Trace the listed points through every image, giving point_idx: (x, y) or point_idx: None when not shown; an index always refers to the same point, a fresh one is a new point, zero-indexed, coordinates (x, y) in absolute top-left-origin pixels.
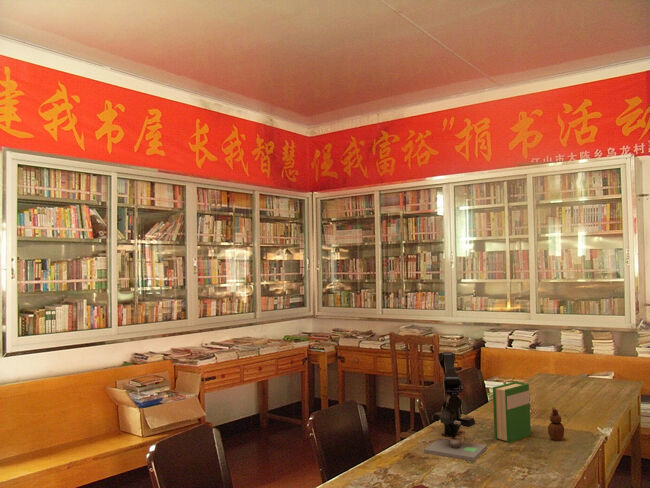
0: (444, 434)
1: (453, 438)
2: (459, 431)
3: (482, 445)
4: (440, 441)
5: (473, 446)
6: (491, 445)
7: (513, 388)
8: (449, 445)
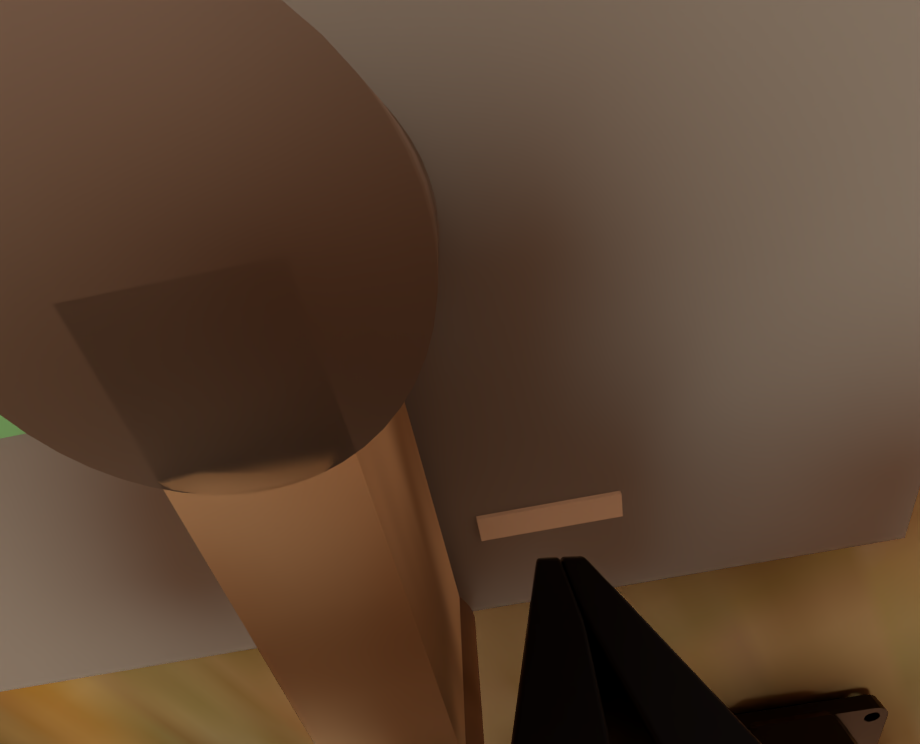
0: (844, 715)
1: (304, 305)
2: None
3: (15, 647)
4: (828, 376)
5: (62, 524)
6: (118, 739)
7: None
8: (509, 251)
